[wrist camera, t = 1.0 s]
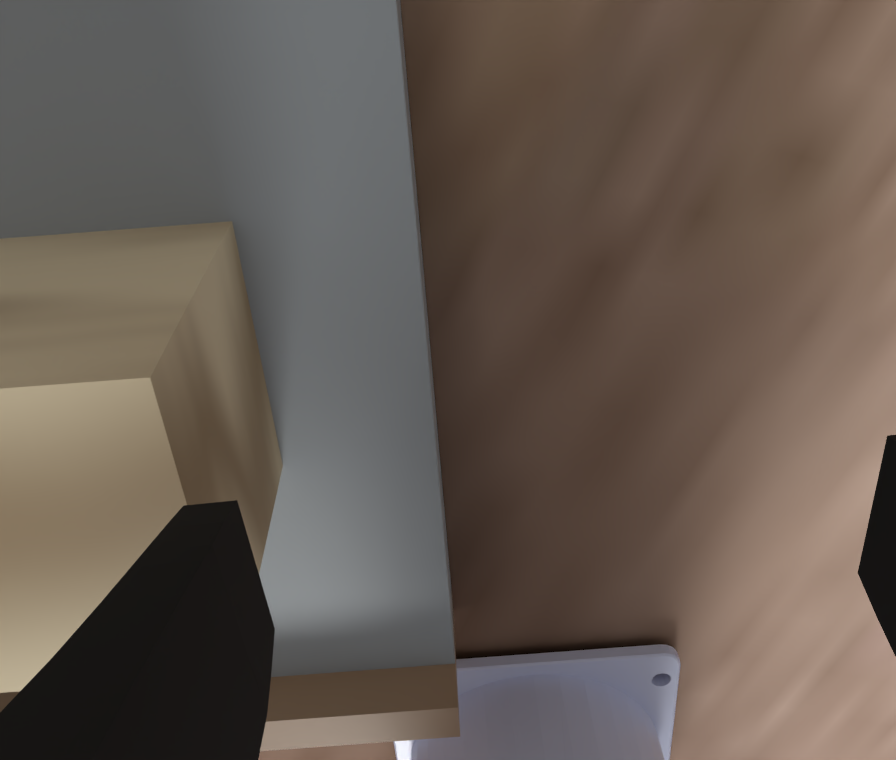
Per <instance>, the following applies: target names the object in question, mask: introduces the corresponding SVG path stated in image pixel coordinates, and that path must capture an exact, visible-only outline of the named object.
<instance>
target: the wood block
mask: <svg viewBox="0 0 896 760" xmlns="http://www.w3.org/2000/svg"><path fill="white" fill-rule="evenodd" d="M282 468H283V463H282V459H281V454H280V449H279V444H278V439H277V435H276V430H275V425H274V420H273V415H272V411H271V406H270V401H269V396H268V391H267V387H266V382H265V377H264V372H263V367H262V363H261V358H260V353H259V348H258V343H257V339H256V334H255V329H254V324H253V319H252V315H251V310H250V305H249V300H248V295H247V291H246V286H245V281H244V276H243V271H242V267H241V262H240V257H239V252H238V247H237V243H236V238H235V233H234V228H233V223H232V221H229V222H215V223H202V224H189V225H175V226H162V227H149V228H135V229H122V230H109V231H96V232H82V233H69V234H56V235H42V236H29V237H16V238H2V239H0V693H5V692H19V691H21V690H22V689H23V688H24V687H25V686H26V685H27V684H28V683H29V682H30V680H31V679H32V678H33V677H34V676H35V675H36V674H37V673H38V672H39V671H40V670H41V669H42V668H43V667H44V666H45V665H46V664H47V663H48V662H49V661H50V659H51V658H52V657H53V656H54V655H55V654H56V653H57V652H58V651H59V649H60V648H61V647H62V646H63V645H64V644H65V643H66V641H67V640H68V639H69V638H70V637H71V636H72V635H73V633H74V632H75V631H76V630H77V629H78V628H79V627H80V626H81V624H82V623H83V622H84V621H85V620H86V619H87V618H88V616H89V615H90V614H91V613H92V612H93V611H94V610H95V608H96V607H97V606H98V605H99V604H100V603H101V602H102V600H103V599H104V598H105V597H106V596H107V595H108V593H109V592H110V591H111V590H112V589H113V587H114V586H115V585H116V584H117V583H118V582H119V580H120V579H121V578H122V577H123V576H124V575H125V573H126V572H127V571H128V570H129V569H130V567H131V566H132V565H133V564H134V563H135V561H136V560H137V559H138V558H139V557H140V556H141V554H142V553H143V552H144V551H145V550H146V548H147V547H148V546H149V545H150V544H151V543H152V541H153V540H154V539H155V538H156V537H157V535H158V534H159V533H160V532H161V531H162V530H163V529H164V527H165V526H166V525H167V524H168V523H169V522H170V520H171V519H172V518H173V517H174V516H175V515H176V513H177V512H178V511H179V510H180V509H181V508H182V507H183V506H184V505H194V504H204V503H214V502H224V501H234V500H237V501H238V504H239V508H240V511H241V515H242V518H243V521H244V525H245V528H246V532H247V535H248V539H249V542H250V545H251V549H252V552H253V556H254V559H255V563H256V566H257V569H258V573H259V572H260V567H261V563H262V558H263V554H264V549H265V545H266V540H267V536H268V531H269V527H270V522H271V518H272V513H273V509H274V504H275V499H276V495H277V490H278V486H279V481H280V477H281V472H282Z"/></svg>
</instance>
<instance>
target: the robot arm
mask: <svg viewBox="0 0 896 760" xmlns="http://www.w3.org/2000/svg"><path fill="white" fill-rule="evenodd" d="M858 574H859V577H860V579H861V581H862V584H863V586H864V588H865V590H866V593H867V595H868V597H869V600H870V602H871V604H872V607H873V609H874V611H875V614H876V616H877V618H878V620H879V622H880V624H881V627H882V629H883V631H884V633H885V635H886V637H887V639H888V641H889V643H890V646H891V648H892V650H893V652H894V654H895V656H896V435H890V436H887V440H886V445H885V449H884V454H883V459H882V463H881V468H880V472H879V477H878V482H877V486H876V491H875V496H874V500H873V505H872V509H871V514H870V519H869V523H868V528H867V533H866V537H865V542H864V546H863V551H862V556H861V560H860V565H859V570H858ZM274 634H275V628H274V624H273V621H272V617H271V614H270V610H269V607H268V604H267V600H266V597H265V593H264V590H263V587H262V583H261V580H260V576H259V573H258V569H257V566H256V563H255V559H254V556H253V552H252V549H251V545H250V542H249V539H248V535H247V532H246V528H245V525H244V521H243V518H242V515H241V511H240V508H239V504H238V501H237V500H234V501H224V502H214V503H204V504H194V505H184V506H183V507H182V508H181V509H180V510H179V511H178V512H177V513H176V515H175V516H174V517H173V518H172V519H171V520H170V522H169V523H168V524H167V525H166V526H165V527H164V529H163V530H162V531H161V532H160V533H159V534H158V535H157V537H156V538H155V539H154V540H153V541H152V543H151V544H150V545H149V546H148V547H147V548H146V550H145V551H144V552H143V553H142V554H141V556H140V557H139V558H138V559H137V560H136V561H135V563H134V564H133V565H132V566H131V567H130V569H129V570H128V571H127V572H126V573H125V575H124V576H123V577H122V578H121V579H120V580H119V582H118V583H117V584H116V585H115V586H114V587H113V589H112V590H111V591H110V592H109V593H108V595H107V596H106V597H105V598H104V599H103V600H102V602H101V603H100V604H99V605H98V606H97V607H96V608H95V610H94V611H93V612H92V613H91V614H90V615H89V616H88V618H87V619H86V620H85V621H84V622H83V623H82V624H81V626H80V627H79V628H78V629H77V630H76V631H75V632H74V633H73V635H72V636H71V637H70V638H69V639H68V640H67V641H66V643H65V644H64V645H63V646H62V647H61V648H60V649H59V651H58V652H57V653H56V654H55V655H54V656H53V657H52V658H51V659H50V661H49V662H48V663H47V664H46V665H45V666H44V667H43V668H42V669H41V670H40V671H39V672H38V673H37V674H36V675H35V676H34V677H33V678H32V679H31V680H30V682H29V683H28V684H27V685H26V686H25V687H24V688H23V689H22V690H21V691H20V692H19V693H18V694H17V695H16V696H15V697H14V698H13V699H12V700H11V702H10V703H9V704H8V705H7V706H6V707H5V708H4V709H3V710H2V711H1V712H0V760H258V758H259V753H260V748H261V743H262V738H263V733H264V728H265V723H266V718H267V712H268V702H269V692H270V682H271V671H272V659H273V646H274ZM680 665H681V664H680V659H679V656H678V653H677V651H676V650H675V649H674V648H673V647H671V646H669V645H663V644H657V645H643V646H630V647H616V648H603V649H589V650H576V651H562V652H548V653H535V654H521V655H508V656H494V657H481V658H467V659H456V668H457V686H458V704H459V723H460V737H448V738H434V739H420V740H407V741H394V747H395V753H396V760H670V752H671V743H672V735H673V726H674V717H675V709H676V700H677V691H678V683H679V674H680Z"/></svg>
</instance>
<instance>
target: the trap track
mask: <svg viewBox="0 0 896 760" xmlns="http://www.w3.org/2000/svg"><path fill="white" fill-rule="evenodd" d="M229 221H232V223H233V228H234V233H235V238H236V243H237V247H238V252H239V257H240V262H241V267H242V271H243V276H244V281H245V286H246V291H247V295H248V300H249V305H250V310H251V315H252V319H253V324H254V329H255V334H256V339H257V343H258V348H259V353H260V358H261V363H262V367H263V372H264V377H265V382H266V387H267V391H268V396H269V401H270V406H271V411H272V415H273V420H274V425H275V430H276V435H277V439H278V444H279V449H280V454H281V459H282V463H283V468H282V472H281V477H280V481H279V486H278V490H277V495H276V499H275V504H274V509H273V513H272V518H271V522H270V527H269V531H268V536H267V540H266V545H265V549H264V554H263V558H262V563H261V567H260V572H259V576H260V580H261V583H262V587H263V590H264V593H265V597H266V600H267V604H268V607H269V610H270V614H271V617H272V621H273V624H274V628H275V634H274V646H273V659H272V671H271V682H270V692H269V702H268V712H267V718H266V723H265V728H264V733H263V738H262V743H261V748H260V751H271V750H284V749H298V748H311V747H325V746H339V745H352V744H366V743H380V742H393V741H407V740H420V739H434V738H448V737H460V723H459V704H458V686H457V668H456V650H455V632H454V614H453V602H452V591H451V579H450V568H449V556H448V545H447V533H446V522H445V510H444V499H443V487H442V476H441V464H440V453H439V441H438V430H437V418H436V407H435V395H434V384H433V372H432V361H431V349H430V338H429V326H428V315H427V303H426V291H425V280H424V268H423V257H422V245H421V234H420V222H419V211H418V199H417V188H416V176H415V165H414V153H413V142H412V130H411V119H410V107H409V96H408V84H407V73H406V61H405V50H404V38H403V27H402V15H401V4H400V0H0V239H2V238H16V237H29V236H42V235H56V234H69V233H82V232H96V231H109V230H122V229H135V228H149V227H162V226H175V225H189V224H202V223H215V222H229ZM19 692H20V691H19ZM19 692H5V693H0V712H1V711H2V710H3V709H4V708H5V707H6V706H7V705H8V704H9V703H10V702H11V700H12V699H13V698H14V697H15V696H16V695H17V694H18V693H19Z"/></svg>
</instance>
